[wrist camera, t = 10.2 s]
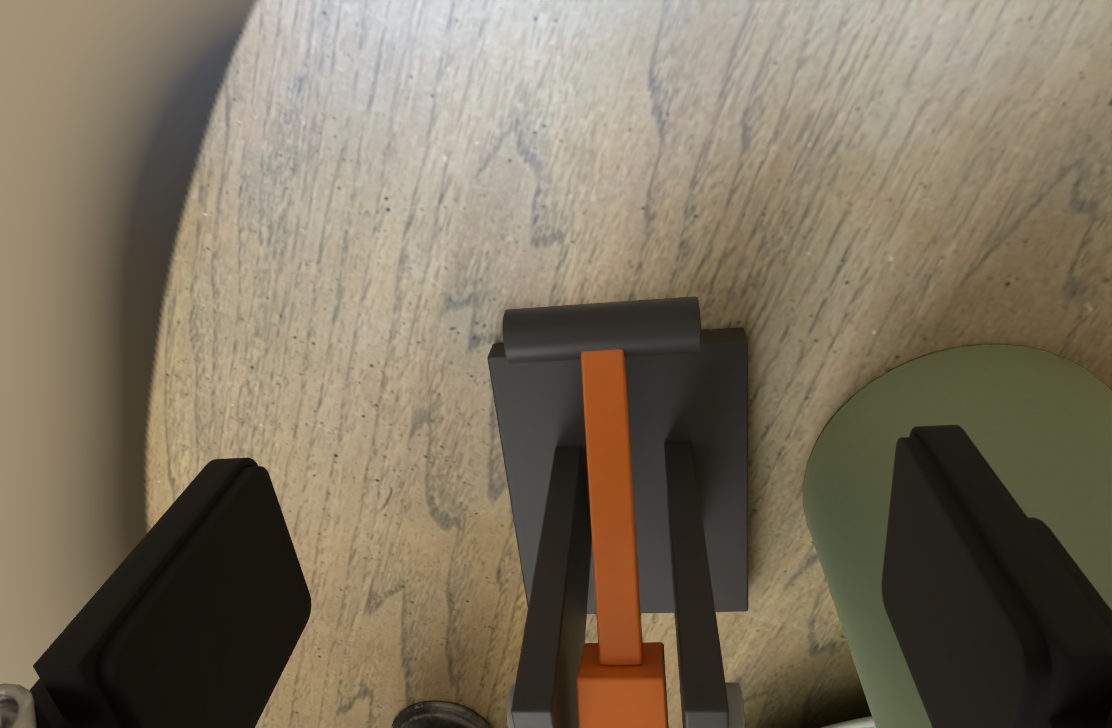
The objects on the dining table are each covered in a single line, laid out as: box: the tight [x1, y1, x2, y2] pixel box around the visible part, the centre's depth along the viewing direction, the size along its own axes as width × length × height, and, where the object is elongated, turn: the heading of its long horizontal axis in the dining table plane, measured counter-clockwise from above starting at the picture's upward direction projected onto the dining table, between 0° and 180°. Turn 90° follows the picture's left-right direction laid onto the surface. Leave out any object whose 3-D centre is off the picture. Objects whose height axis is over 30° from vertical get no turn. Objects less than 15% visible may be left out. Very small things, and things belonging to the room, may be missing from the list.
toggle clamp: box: [488, 328, 748, 728], centre depth 24 cm, size 12×9×13 cm
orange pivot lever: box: [503, 296, 701, 728], centre depth 20 cm, size 12×5×2 cm, turn 7°
